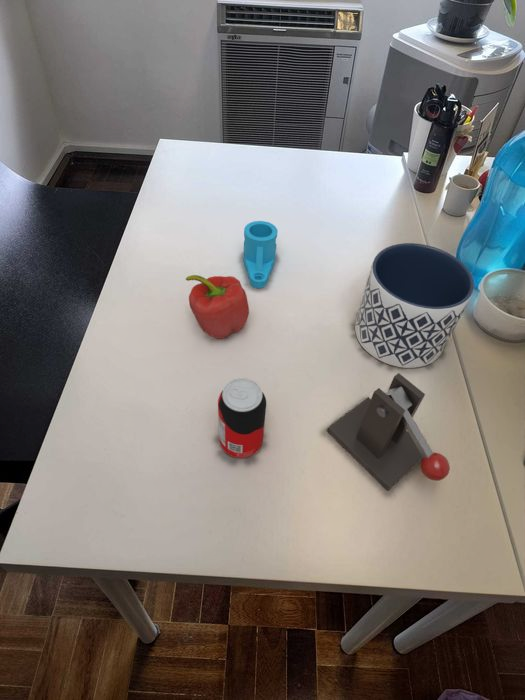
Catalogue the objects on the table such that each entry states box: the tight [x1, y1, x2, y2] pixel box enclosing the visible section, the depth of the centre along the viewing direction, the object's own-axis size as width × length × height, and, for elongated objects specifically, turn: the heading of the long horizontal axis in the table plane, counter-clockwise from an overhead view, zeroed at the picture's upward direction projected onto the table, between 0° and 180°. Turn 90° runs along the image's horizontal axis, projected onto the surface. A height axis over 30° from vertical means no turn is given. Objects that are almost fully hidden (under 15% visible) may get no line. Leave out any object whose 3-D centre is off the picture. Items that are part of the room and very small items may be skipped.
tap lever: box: [384, 387, 451, 482], centre depth 61 cm, size 13×4×4 cm
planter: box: [354, 242, 475, 369], centre depth 79 cm, size 16×16×14 cm
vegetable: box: [185, 274, 250, 339], centre depth 80 cm, size 11×10×10 cm
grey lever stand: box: [326, 372, 426, 492], centre depth 65 cm, size 12×9×13 cm
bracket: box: [242, 220, 278, 289], centre depth 92 cm, size 6×12×7 cm, turn 179°
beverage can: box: [217, 377, 267, 459], centre depth 64 cm, size 6×6×12 cm
